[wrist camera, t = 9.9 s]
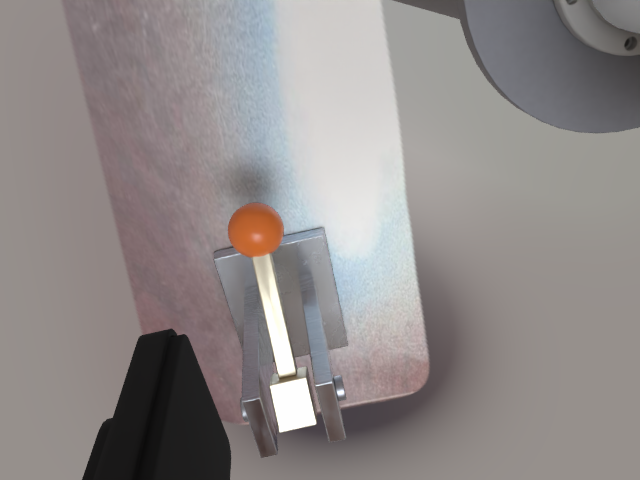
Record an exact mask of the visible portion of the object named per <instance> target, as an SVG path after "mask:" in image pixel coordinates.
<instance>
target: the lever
mask: <svg viewBox="0 0 640 480" xmlns="http://www.w3.org/2000/svg"><path fill="white" fill-rule="evenodd" d="M228 235H229V239H230V242H231V244H232V245H233V247H234V248H235V249H236V250H237V251H238V252H239V253H240V254H242V255H244V256H247V257H250V258H252V262H253V266H254V271H255V275H256V280H257V284H258V289H259V293H260V298H261V302H262V307H263V311H264V316H265V320H266V325H267V329H268V334H269V338H270V342H271V347H272V351H273V356H274V360H275V365H276V369H277V373H274V374H272V375H271V379H270V383H269V390H270V394H271V399H272V403H273V408H274V412H275V416H276V421H277V425H278V430H279V432H285V431H290V430H294V429H298V428H303V427H308V426H312V425H316V424H317V409H316V404H315V400H314V395H313V391H312V386H311V382H310V377H309V373H308V368H307V367H306V366H305V367H301V368H297V365H296V361H295V356H294V352H293V347H292V343H291V338H290V334H289V329H288V325H287V320H286V316H285V312H284V307H283V303H282V298H281V294H280V289H279V285H278V280H277V276H276V271H275V267H274V262H273V258H272V253H273V252H274V251H275V250H276V249H277V248H278V247H279V245H280V244H281V242H282V239H283V235H284V226H283V222H282V219H281V217H280V216H279V214H278V213H277V212H276V211H275V210H274V209H273V208H272V207H270V206H268V205H266V204H262V203H249V204H246V205H244V206H242V207H240V208H239V209H238V210H236V212H235V213H234V214H233V215H232V217H231V219H230V221H229V225H228Z"/></svg>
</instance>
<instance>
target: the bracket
mask: <svg viewBox="0 0 640 480" xmlns="http://www.w3.org/2000/svg"><path fill="white" fill-rule="evenodd" d="M272 258H273V262H274V267H275V271H276V276H277V280H278V285H279V289H280V294H281V298H282V303H283V307H284V312H285V316H286V320H287V325H288V329H289V334H290V338H291V343H292V347H293V352H294V356H295V357H299V356H304V355H308V354H310V357H311V364H312V370H313V377H314V384H315V389H316V393H317V397H318V400H319V404H320V408H321V412H322V416H323V420H324V424H325V428H326V432H327V436H328V440H329V442H334V441H338V440H343V439H346V435H345V430H344V425H343V420H342V415H341V409H340V404H339V401H341V400H346V394H345V390H344V385H343V381H342V376H341V375H339V376H335V377H334V374H333V369H332V364H331V359H330V354H329V350H331V349H335V348H340V347H344V346H348V341H347V336H346V332H345V327H344V322H343V317H342V312H341V308H340V303H339V298H338V293H337V288H336V284H335V279H334V274H333V269H332V264H331V260H330V255H329V250H328V245H327V240H326V236H325V232H324V228H319V229H314V230H310V231H305V232H301V233H296V234H292V235H287V236H283V239H282V242H281V244H280V245H279V247H278V248H277V249H276V250H275V251H274V252H273V253H272ZM214 263H215V266H216V269H217V272H218V275H219V278H220V281H221V284H222V287H223V290H224V294H225V297H226V300H227V303H228V306H229V309H230V312H231V315H232V318H233V321H234V324H235V328H236V331H237V334H238V337H239V340H240V343H241V346H242V349H243V369H242V397H241V400H240V406H241V412H242V416H243V419H244V421H245V422H249V425H250V427H251V430H252V433H253V436H254V439H255V442H256V445H257V448H258V451H259V454H260V457H261V458H263V457H268V456H272V455H277V454H278V449H277V430H276V416H275V412H274V408H273V403H272V399H271V394H270V390H269V383H270V379H271V375H272V374H274V371H273V362H275V360H274V356H273V351H272V347H271V342H270V338H269V334H268V329H267V325H266V320H265V316H264V311H263V307H262V302H261V298H260V293H259V289H258V284H257V280H256V275H255V271H254V266H253V262H252V258H250V257H247V256H244V255H242V254H240V253H239V252H238V251H237V250H236V249H235V248H234V247H233V248H228V249H223V250H219V251H215V252H214Z"/></svg>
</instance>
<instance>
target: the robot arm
mask: <svg viewBox="0 0 640 480" xmlns="http://www.w3.org/2000/svg"><path fill="white" fill-rule="evenodd" d="M554 4H555V8H556V10H557V12H558V14H559V16H560V18H561V20H562V22H563V24H564V25H565V26H566V27H567V29H568V30H569V31H570V32H571V34H572V35H573V36H574V37H576V38H577V39H578V40H580V41H581V42H582V43H583V44H585V45H586V46H589V47H591V48H593V49H596V50H598V51H601V52H605V53H609V54H613V55H621V56H633V55H640V0H554ZM230 469H231V450H230V444H229V440H228V437H227V435H226V432H225V430H224V427H223V424H222V422H221V419H220V417H219V414H218V412H217V409H216V407H215V404H214V402H213V399H212V397H211V394H210V391H209V389H208V386H207V384H206V381H205V379H204V376H203V374H202V371H201V369H200V366H199V364H198V361H197V359H196V356H195V354H194V351H193V348H192V346H191V343H190V341H189V339H188V337H187V336H186V335H185V334H183V335H178V336H177V334H176V332H175V331H174V330H173V329H168V330H163V331H159V332H155V333H150V334H146V335H142V336H140V337H139V339H138V341H137V344H136V347H135V350H134V354H133V357H132V360H131V363H130V367H129V369H128V372H127V376H126V378H125V382H124V385H123V388H122V391H121V394H120V397H119V400H118V404H117V407H116V410H115V413H114V416H113V418H111V419H107V420H106V421H105V422H103V424H102V426H101V428H100V430H99V432H98V435H97V438H96V441H95V444H94V446H93V449H92V452H91V456H90V458H89V461H88V464H87V467H86V470H85V473H84V476H83V479H82V480H230Z"/></svg>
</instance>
